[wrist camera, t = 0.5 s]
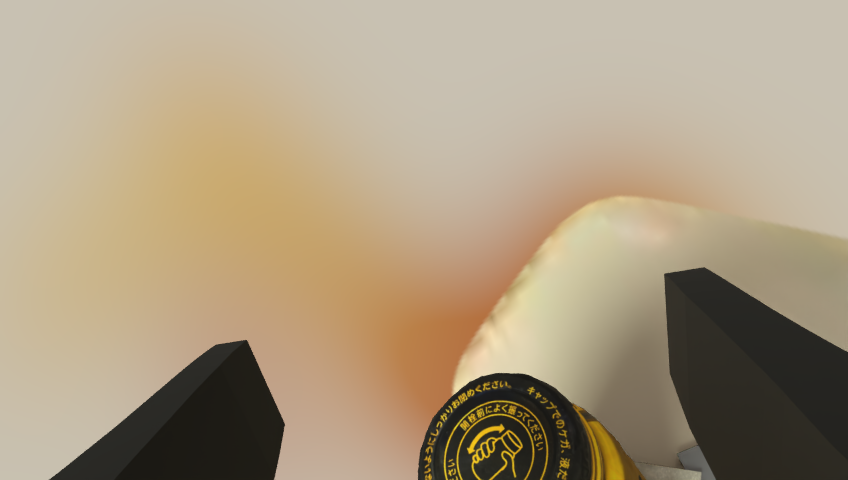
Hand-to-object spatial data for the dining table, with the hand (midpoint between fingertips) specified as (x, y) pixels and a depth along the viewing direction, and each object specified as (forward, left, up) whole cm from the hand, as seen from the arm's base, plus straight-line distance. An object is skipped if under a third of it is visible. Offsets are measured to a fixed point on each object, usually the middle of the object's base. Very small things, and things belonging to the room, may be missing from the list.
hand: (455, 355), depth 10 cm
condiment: (+4, +2, -20) cm, 20 cm away
